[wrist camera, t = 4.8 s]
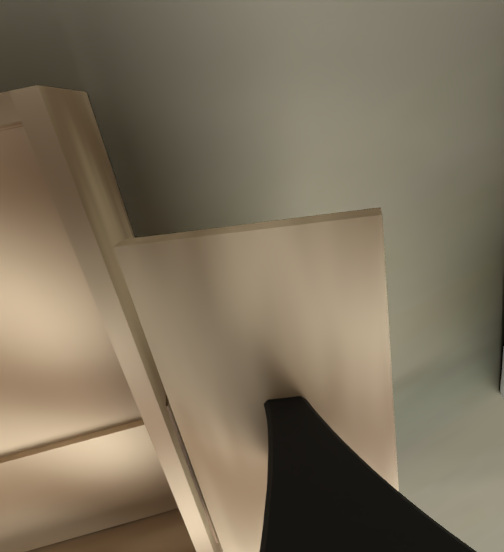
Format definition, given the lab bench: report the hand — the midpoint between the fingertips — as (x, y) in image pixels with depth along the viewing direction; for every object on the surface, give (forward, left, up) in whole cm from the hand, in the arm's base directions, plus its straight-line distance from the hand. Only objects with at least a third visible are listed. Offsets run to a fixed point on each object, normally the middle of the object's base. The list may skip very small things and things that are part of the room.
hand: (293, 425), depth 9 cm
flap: (0, +3, -1) cm, 3 cm away
